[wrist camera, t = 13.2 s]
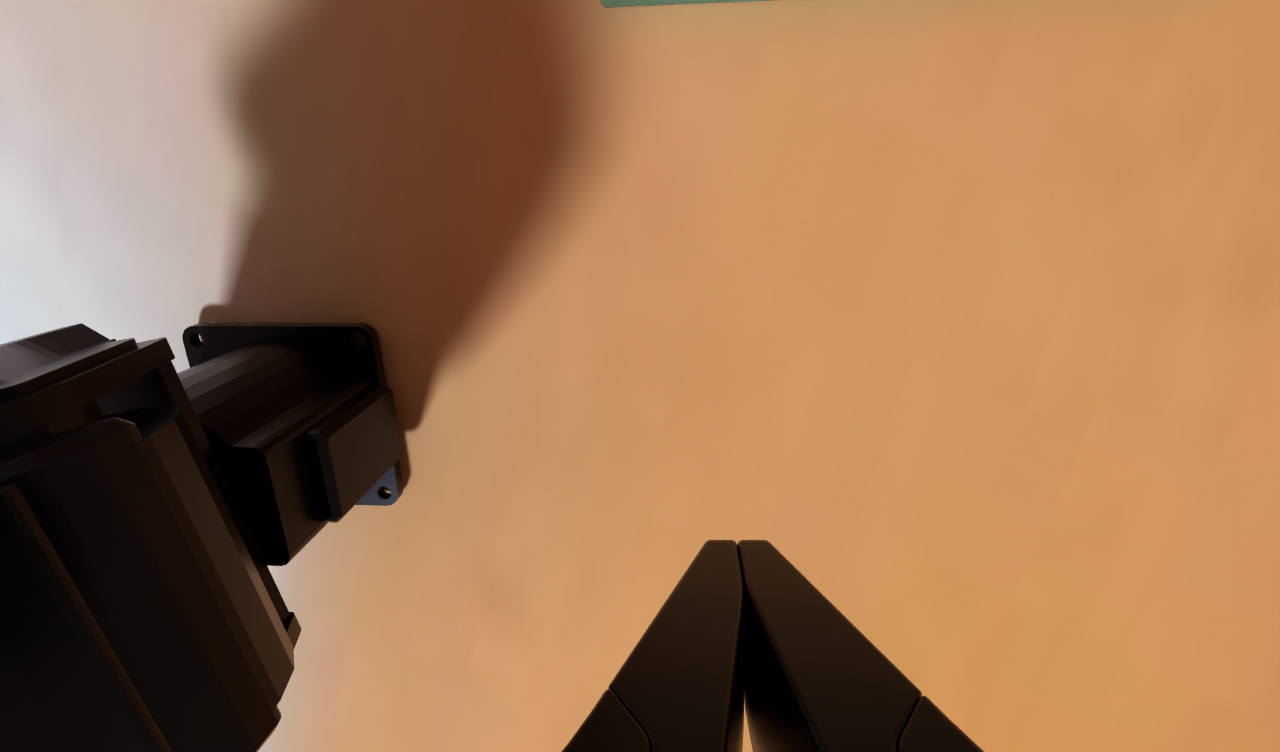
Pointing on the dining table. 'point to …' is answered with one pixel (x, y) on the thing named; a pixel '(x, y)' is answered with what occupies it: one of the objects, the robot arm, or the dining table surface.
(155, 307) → the dining table surface
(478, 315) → the dining table surface
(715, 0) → the board
